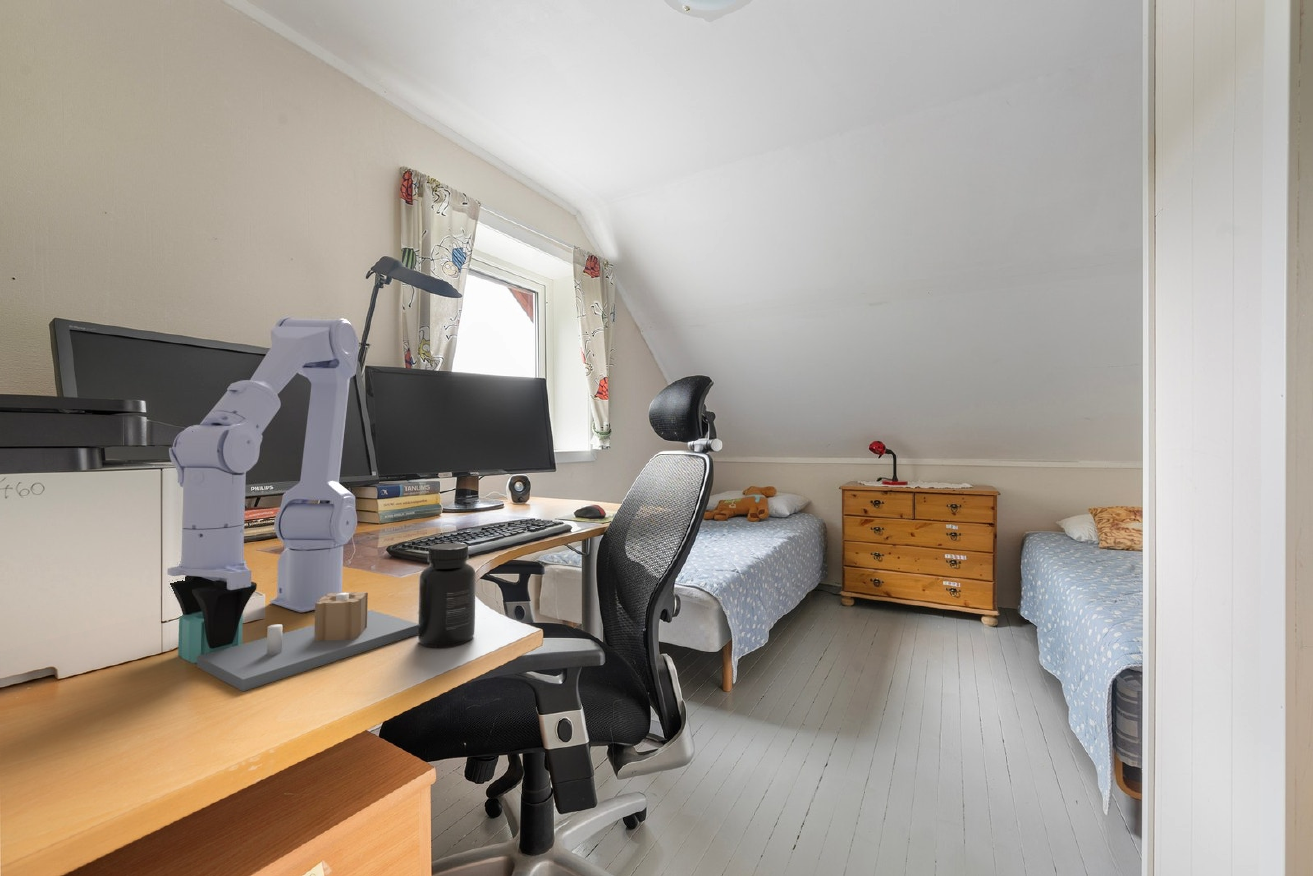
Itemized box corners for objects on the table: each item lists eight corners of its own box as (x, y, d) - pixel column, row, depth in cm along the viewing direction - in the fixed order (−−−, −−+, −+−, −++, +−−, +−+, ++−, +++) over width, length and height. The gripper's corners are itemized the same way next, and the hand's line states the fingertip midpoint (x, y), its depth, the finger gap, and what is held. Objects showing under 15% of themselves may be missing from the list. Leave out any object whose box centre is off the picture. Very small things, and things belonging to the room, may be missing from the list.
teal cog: (175, 655, 63) (176, 616, 63) (226, 642, 67) (227, 606, 67) (193, 664, 60) (194, 624, 60) (244, 650, 64) (245, 612, 64)
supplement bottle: (477, 629, 73) (480, 541, 73) (470, 647, 67) (474, 550, 67) (423, 631, 72) (426, 541, 72) (411, 650, 65) (415, 551, 65)
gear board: (196, 666, 60) (198, 611, 60) (371, 618, 77) (372, 575, 77) (242, 691, 54) (244, 630, 54) (419, 633, 71) (420, 587, 71)
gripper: (146, 524, 64) (143, 638, 64) (198, 536, 57) (194, 666, 56) (218, 517, 70) (215, 622, 70) (273, 528, 63) (270, 645, 62)
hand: (210, 640), depth 63 cm, fingers closed on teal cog, 5 cm apart
